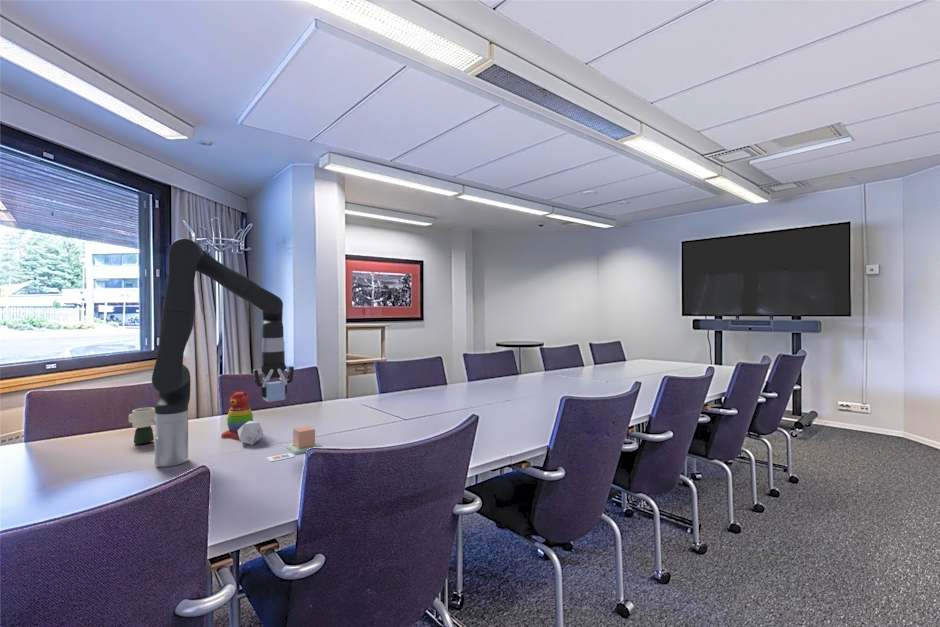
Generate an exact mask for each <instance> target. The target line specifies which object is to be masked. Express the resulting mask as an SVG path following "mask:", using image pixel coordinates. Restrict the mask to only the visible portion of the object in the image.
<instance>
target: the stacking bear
mask: <svg viewBox="0 0 940 627" xmlns="http://www.w3.org/2000/svg"><path fill="white" fill-rule="evenodd" d="M249 398H250V397H249V394H248V392H246V391H233V392H232V395H231V396H230V398H229V404H230V408H229V410H228V413H227V418H226V421H227V422H226V424H227V427H228V430H226V431H224V432H222V433H221V438H223V439H227V438H228V439H234V440H240V439H239V435H238V431H237V430H238V429H240V428H241V427H242V426H243V425H244V424H245V423H247V422H248V421H253V422H254V415H253V411H252V409H251V407H250V405H248V403H249Z"/></svg>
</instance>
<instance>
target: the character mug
mask: <svg viewBox="0 0 940 627" xmlns="http://www.w3.org/2000/svg"><path fill="white" fill-rule="evenodd" d="M128 423H129V424H130V423H131V424H132V425H131V426H132V428H134V429H135V428H136V429H135V431H134V436H133V443H134V444H136V445H142V444H149V443H151V442H152V441H155V435H154V430H153V426H155V407H150V406H149V407H140V408H135V409H133V410H132V413H129V414H128Z"/></svg>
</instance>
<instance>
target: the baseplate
mask: <svg viewBox="0 0 940 627" xmlns="http://www.w3.org/2000/svg"><path fill="white" fill-rule="evenodd" d="M313 447H322V448H323V445H321V444H320V443H318V442H317V441H315V445H314V446H309V447H304V448H297V447H296V446H295V445H293V443H289V444H285V448H286V449H288V450H289V451H290V453H293V455H298V454H302V453H307V452H306V451H307V449H309V448H313Z"/></svg>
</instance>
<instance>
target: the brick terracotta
mask: <svg viewBox="0 0 940 627" xmlns="http://www.w3.org/2000/svg"><path fill="white" fill-rule="evenodd" d="M292 429H293V430H292V433H293V434H292V442H293V443H292V444H293V445H295V446H296V447H297V448H304V447H309V446H314V445H315V442H316V429H315V428H314V427H312V426H310V425H307V426H306V425H305V426H300V427H295V428H292Z"/></svg>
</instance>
